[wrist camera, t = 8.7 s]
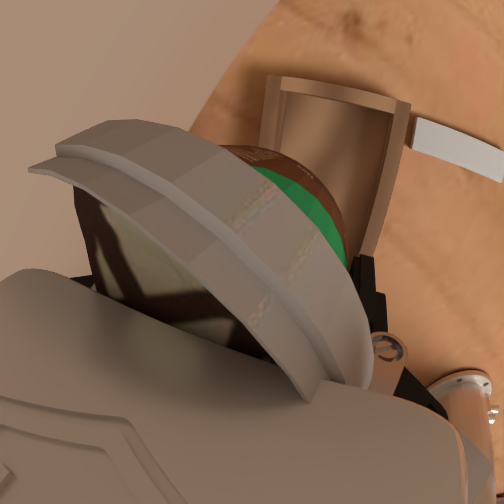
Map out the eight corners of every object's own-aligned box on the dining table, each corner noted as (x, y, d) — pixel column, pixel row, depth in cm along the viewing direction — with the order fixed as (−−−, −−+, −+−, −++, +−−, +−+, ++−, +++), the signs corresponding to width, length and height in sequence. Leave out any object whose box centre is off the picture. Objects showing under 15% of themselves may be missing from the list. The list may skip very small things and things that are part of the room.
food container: (344, 356, 15) (301, 523, 7) (244, 333, 17) (157, 473, 9) (391, 126, 10) (514, 149, 1) (246, 113, 12) (23, 137, 3)
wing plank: (501, 151, 18) (508, 153, 17) (495, 180, 20) (501, 183, 18) (414, 116, 21) (417, 116, 20) (408, 147, 22) (411, 149, 21)
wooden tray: (403, 106, 20) (411, 104, 17) (359, 275, 29) (358, 295, 26) (279, 79, 23) (267, 74, 20) (255, 246, 32) (243, 262, 28)
